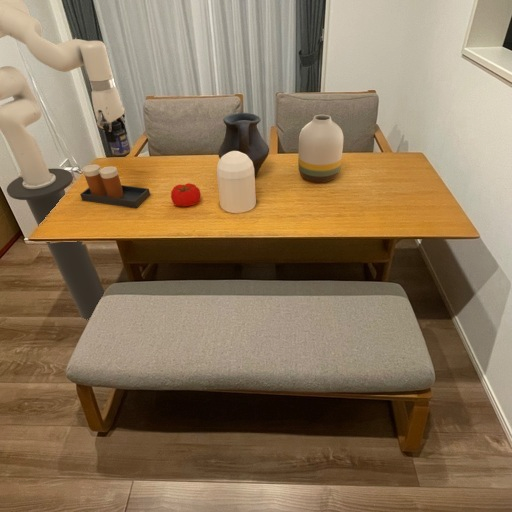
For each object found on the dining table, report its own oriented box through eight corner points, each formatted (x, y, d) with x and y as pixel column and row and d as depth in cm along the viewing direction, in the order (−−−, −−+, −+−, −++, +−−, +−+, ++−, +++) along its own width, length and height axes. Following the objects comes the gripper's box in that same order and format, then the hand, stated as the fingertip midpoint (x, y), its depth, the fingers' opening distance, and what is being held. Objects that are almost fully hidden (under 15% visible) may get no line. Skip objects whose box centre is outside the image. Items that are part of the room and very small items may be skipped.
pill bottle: (127, 157, 138) (119, 126, 131) (111, 157, 138) (102, 127, 131) (132, 150, 142) (124, 120, 135) (116, 150, 143) (107, 120, 136)
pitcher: (266, 161, 171) (264, 103, 155) (273, 184, 154) (272, 122, 138) (219, 165, 169) (213, 107, 154) (222, 189, 152) (215, 126, 137)
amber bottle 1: (88, 196, 150) (78, 170, 144) (97, 189, 155) (89, 163, 148) (101, 198, 149) (92, 172, 142) (110, 190, 153) (102, 165, 147)
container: (259, 210, 139) (257, 158, 126) (222, 215, 137) (216, 163, 125) (252, 192, 149) (249, 142, 137) (218, 197, 148) (212, 147, 135)
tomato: (172, 198, 148) (168, 183, 144) (200, 194, 150) (198, 179, 146) (173, 211, 141) (169, 195, 137) (202, 207, 142) (200, 191, 138)
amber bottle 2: (104, 198, 149) (95, 172, 142) (113, 191, 153) (105, 165, 146) (118, 200, 147) (110, 174, 140) (127, 192, 152) (119, 167, 145)
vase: (317, 163, 167) (320, 106, 152) (348, 176, 156) (355, 116, 142) (289, 176, 158) (289, 117, 143) (320, 190, 148) (324, 129, 133)
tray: (82, 200, 150) (80, 194, 148) (98, 188, 157) (96, 181, 156) (136, 208, 144) (134, 201, 142) (150, 194, 151) (148, 188, 149)
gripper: (108, 77, 132) (121, 128, 144) (76, 91, 120) (93, 147, 131) (127, 77, 131) (139, 130, 142) (97, 92, 118) (112, 148, 129)
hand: (117, 137), depth 136 cm, fingers closed on pill bottle, 6 cm apart
